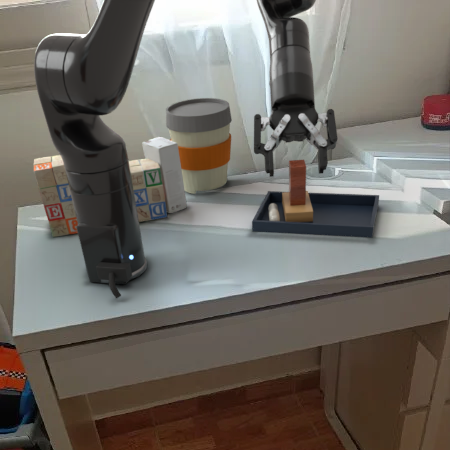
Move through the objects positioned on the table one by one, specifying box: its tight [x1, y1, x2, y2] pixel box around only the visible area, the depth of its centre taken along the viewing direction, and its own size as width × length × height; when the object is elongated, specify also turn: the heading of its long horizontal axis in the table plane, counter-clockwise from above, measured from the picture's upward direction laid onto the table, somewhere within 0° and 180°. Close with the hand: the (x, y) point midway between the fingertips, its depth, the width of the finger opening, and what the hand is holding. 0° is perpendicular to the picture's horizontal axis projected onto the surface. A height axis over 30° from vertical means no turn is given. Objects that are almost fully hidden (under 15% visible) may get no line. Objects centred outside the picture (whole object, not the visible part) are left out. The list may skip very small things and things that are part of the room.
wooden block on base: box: [282, 159, 313, 223], centre depth 104 cm, size 9×5×9 cm, turn 0°
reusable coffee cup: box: [165, 97, 233, 195], centre depth 119 cm, size 13×13×15 cm
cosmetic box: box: [141, 136, 188, 214], centre depth 112 cm, size 6×4×12 cm
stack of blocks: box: [33, 154, 168, 238], centre depth 109 cm, size 21×6×12 cm, turn 103°
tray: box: [251, 190, 380, 239], centre depth 106 cm, size 13×20×3 cm, turn 75°
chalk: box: [268, 203, 280, 221], centre depth 107 cm, size 7×2×2 cm, turn 0°
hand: (296, 173), depth 104 cm, fingers open, 8 cm apart
